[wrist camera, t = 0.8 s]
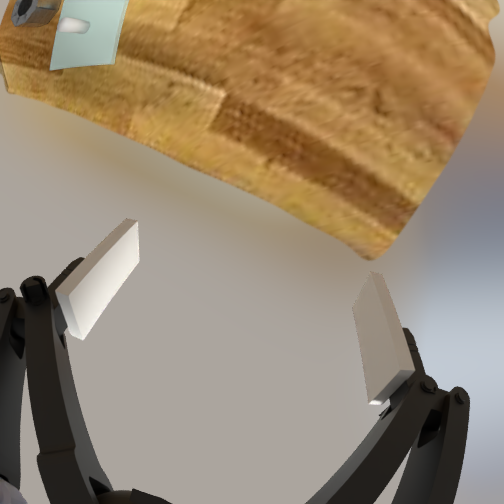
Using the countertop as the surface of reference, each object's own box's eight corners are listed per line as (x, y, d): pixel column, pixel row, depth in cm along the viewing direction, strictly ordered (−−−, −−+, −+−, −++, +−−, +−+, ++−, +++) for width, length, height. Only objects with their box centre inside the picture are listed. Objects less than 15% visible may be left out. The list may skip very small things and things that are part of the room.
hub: (39, -5, 22) (18, -8, 17) (66, -16, 22) (45, -21, 17) (30, 29, 26) (8, 29, 21) (55, 21, 26) (33, 19, 21)
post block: (68, 0, 24) (44, -5, 18) (133, -15, 24) (111, -26, 18) (53, 70, 31) (27, 72, 26) (114, 64, 31) (88, 63, 26)
